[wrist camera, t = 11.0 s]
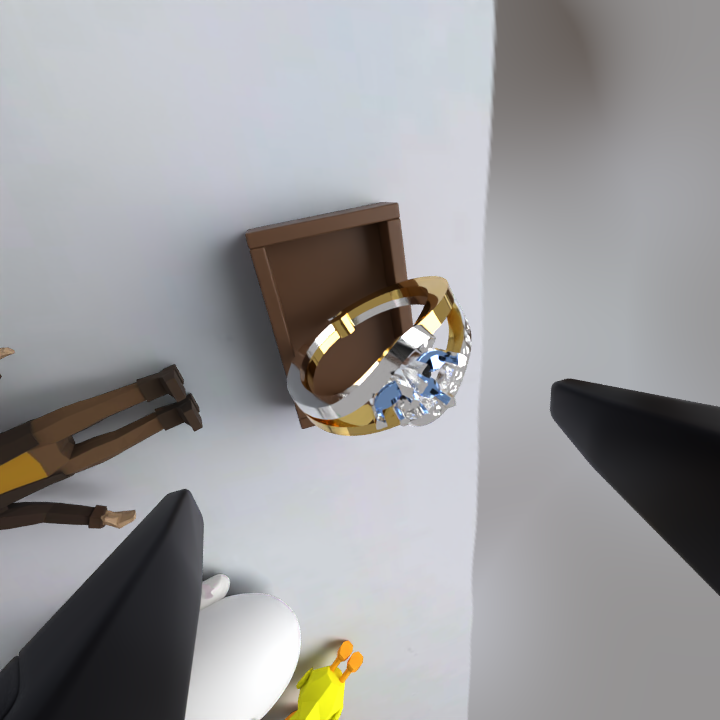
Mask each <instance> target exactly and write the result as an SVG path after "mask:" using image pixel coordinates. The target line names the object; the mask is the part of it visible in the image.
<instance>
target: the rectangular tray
mask: <svg viewBox="0 0 720 720" xmlns="http://www.w3.org/2000/svg"><path fill="white" fill-rule="evenodd" d="M399 217H400V214H399V206H398V203H390V202H381V203H376V204H371V205H366V206H361V207H356V208H351V209H346V210H341V211H336V212H331V213H326V214H322V215H317V216H312V217H307V218H302V219H297V220H292V221H287V222H282V223H277V224H272V225H267V226H262V227H257V228H253V229H248V230H247V232H246V234H245V237H246V241H247V244H248V247H249V249H250V254H251V258H252V261H253V265H254V268H255V271H256V275H257V278H258V282H259V285H260V288H261V292H262V295H263V299H264V302H265V305H266V309H267V312H268V316H269V319H270V322H271V326H272V329H273V333H274V336H275V339H276V343H277V346H278V350H279V353H280V356H281V360H282V363H283V367H284V370H285V373H286V377H287V376H288V372H289V369H290V366H291V363H292V361H293V359H294V357H295V356H296V354H297V352H298V351H299V349H300V348H301V347H302V345H303V344H304V343H305V341H306V340H307V339H308V338H309V337H310V336H311V335H312V334H313V333H314V332H315V331H316V330H317V329H318V328H319V327H320V326H321V325H323V324H324V323H325V322H326V321H327V318H328V317H329V316H330V315H331V314H332V313H334V312H335V311H337V310H339V309H342V310H343V309H345V308H346V307H348V306H350V305H351V304H353V303H355V302H357V301H358V300H360V299H362V298H364V297H366V296H368V295H370V294H372V293H374V292H376V291H378V290H381V289H383V288H385V287H388V286H391V285H393V284H396V283H399V282H403V281H406V280H407V272H406V264H405V255H404V247H403V239H402V230H401V222H400V219H399ZM355 327H356V329H355V330H354V331H353V332H352V333H351V334H349V335H348V336H346V337H344V338H339V339H338V340H336V341H335V342H334V343H333V344H332V345H331V346H330V347H329V348H328V350H327V351H326V352H325V353H324V355H323V356H322V358H321V359H320V361H319V363H318V365H317V367H316V370H315V373H314V378H313V388H314V393H315V394H317V395H322V396H330V395H335V394H338V393H341V392H343V391H345V390H346V389H348V388H349V387H351V386H352V385H353V384H355V383H356V382H357V381H358V380H359V379H360V378H361V377H362V376H363V375H364V374H365V373H366V372H367V371H368V370H369V369H370V368H371V367H372V366H373V365H374V364H375V362H376V361H377V360H378V359H379V358H380V357H381V355H382V354H383V353H384V352H385V351H386V350H387V348H388V347H389V346H390V345H391V344H392V343H393V342H394V341H395V340H396V339H397V338H398V337H399V336H401V335H403V334H405V333H406V332H407V331H408V330H410V329H411V328H412V327H413V321H412V313H411V305H405V306H400V307H396V308H392V309H389V310H386V311H383V312H381V313H379V314H376V315H374V316H372V317H370V318H368V319H366V320H365V321H363V322H361V323H359V324H358V325H356V326H355ZM399 368H400V367H399ZM399 368H398V369H399ZM417 395H418V394H417ZM418 396H419V397H420V395H418ZM293 401H294V400H293ZM294 404H295V408H296V411H297V414H298V418H299V421H300V425H301V428H302V429H305V428H309V427H312V426H316V425H315V424H313V423H312V422H311V421H310V420H309V418H308V417H307V416H306V415H305V413H304V412H303V411H302V410H301V409H300V408H299V407H298V405H297V404H296V403H295V401H294ZM367 404H369V401H368V402H367V403H365V404H364V405H367Z"/></svg>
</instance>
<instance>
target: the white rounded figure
mask: <svg viewBox="0 0 720 720" xmlns="http://www.w3.org/2000/svg"><path fill="white" fill-rule="evenodd" d="M229 586H230V580H229V578H228V576H226V575H223V574H217V575H215V576H213V577H211V578H209V579H207V580H205V581H203V582H202V596H201V605H200V612H199V619H198V627H197V634H196V641H195V649H194V656H193V663H192V671H191V678H190V685H189V692H188V700H187V707H186V714H185V720H260V719H261V718H262V717H263V716H264V715H265V714H266V713H267V712H268V711H269V710H270V709H271V708H272V706H273V705H274V704H275V703H276V702H277V700H278V699H279V698H280V696H281V695H282V693H283V692H284V690H285V689H286V687H287V685H288V684H289V682H290V680H291V678H292V676H293V673H294V671H295V668H296V666H297V662H298V659H299V654H300V648H301V632H300V626H299V622H298V620H297V617H296V615H295V614H294V612H293V611H292V609H291V608H290V607H289V606H288V605H287V604H286V603H285V602H283V601H282V600H281V599H279V598H277V597H275V596H272V595H268V594H263V593H244V594H238V595H233V596H229V597H225V596H226V594H227V592H228V590H229Z"/></svg>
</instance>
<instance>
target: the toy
mask: <svg viewBox="0 0 720 720" xmlns="http://www.w3.org/2000/svg"><path fill="white" fill-rule="evenodd" d="M14 353H15V352H14V350H13V349H10V348H0V359H2V358H4V357H6V356H8V355H11V354H14ZM1 377H2V376H1V375H0V378H1ZM182 384H184V379H183V378H182V376H181V374H180V372H179V370H178V368H177V367H176V365H175V364H174V365H172V366H169V367H167V368H165V369H163V370H162V371H161V372H159V373H157V374H153V375H150V376H147V377H144V378H141V379H137V382H136V383H133V384H130V385H128V386H125V387H122V388H119V389H116V390H113V391H110V392H107V393H104V394H102V395H99V396H96V397H93V398H90V399H86V400H83V401H79V402H76V403H74V404H71V405H68V406H65V407H62V408H60V409H57V410H55V411H53V412H51V413H48V414H46V415H44V416H42V417H39V418H37V419H34V420H30V421H28V422H26V423H24V424H21V425H19V426H17V427H15V428H13V429H10V430H8V431H6V432H3V433H0V530H4V529H11V528H17V527H22V526H28V525H33V524H38V523H43V522H44V523H56V524H73V525H88V527H89V528H103V527H105V525H109V526H113V527H116V528H119V529H120V528H122V527H123V526H125V525H127V524H129V523H130V522H132V521H134V520H135V519H136V512H135V510H132V511H121V512H112V511H108V510H107V506H101V505H96V507H89V506H82V505H73V504H65V503H53V502H20V503H13V502H16V501H18V500H20V499H22V498H24V497H26V496H28V495H30V494H32V493H34V492H36V491H38V490H40V489H43V488H45V487H47V486H49V485H51V484H53V483H56V482H58V481H61V480H64V479H66V478H68V477H70V476H72V475H74V474H75V473H77V472H80V471H82V470H85V469H88V468H90V467H93V466H95V465H98V464H100V463H103V462H105V461H107V460H109V459H111V458H113V457H114V456H116V455H118V454H120V453H122V452H123V451H125V450H127V449H128V448H130V447H132V446H134V445H136V444H137V443H139V442H141V441H143V440H145V439H146V438H148V437H150V436H152V435H154V434H155V433H157V432H159V431H161V430H162V429H165V431H166V430H168V429H170V428H173V427H175V426H177V425H179V424H182V423H184V422H185V423H187V424H188V425H190V426H191V427H192V429H193V430H194V432H195V431H197V430H199V429H201V428H202V427H203V426H202V420H201V417H200V415H199V413H198V412H200V411H199V406H198V405H197V403H196V401H195V399H194V397H193V396H192V394H191V393H190V394H188V395H186V392H185V388H184V386H183V385H182ZM166 394H169V395H171V396H172V397H174V398H175V399H176V401H177V402H176V403H173V404H170V405H166V406H163V407H160V408H157V409H155V412H154V413H152V414H149V415H147V416H145V417H143V418H141V419H139V420H137V421H135V422H133V423H131V424H129V425H126V426H124V427H122V428H120V429H118V430H116V431H113V432H109V433H105V434H102V435H99V436H96V437H93V438H91V439H88V440H86V441H83V442H81V443H77V444H75V442H74V439H73V437H72V435H73V434H75V433H78V432H80V431H82V430H84V429H86V428H88V427H90V426H92V425H94V424H96V423H98V422H100V421H101V420H103V419H105V418H106V417H109V416H111V415H113V414H116V413H118V412H120V411H123V410H125V409H127V408H130V407H132V406H134V405H137V404H139V403H141V402H144V401H146V400H147V402H150V401H152V400H154V399H156V398H159V397H161V396H164V395H166Z"/></svg>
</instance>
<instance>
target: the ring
mask: <svg viewBox="0 0 720 720" xmlns="http://www.w3.org/2000/svg"><path fill="white" fill-rule="evenodd" d="M414 304H420V305H425V306H424V308H423V310H422V312H421V314H420V316H419V317H418V319H417V321H416V323H415V324H414V326H413V327H412V328H411V329H410V330H408V331H407V332H406V333H405V334H403V335H401V336H399V337H398V338H397V339H396V340H395V341H394V342H393V343H392V344H391V345H390V346H389V347H388V348H387V350H386V351H385V352H384V353H383V354H382V355H381V357H380V358H379V359H378V360H377V361H376V362H375V364H374V365H373V366H372V367H371V368H370V369H369V370H368V371H367V372H366V373H365V374H364V375H363V376H362V377H361V378H360V379H359V380H358V381H357V382H356V383H355V384H353V385H352V386H351V387H349V388H348V389H346V390H345V391H343V392H341V393H338V394H335V395H330V396H322V395H317V394H315V393H314V388H313V378H314V373H315V370H316V367H317V365H318V363H319V361H320V359H321V358H322V356H323V355H324V353H325V352H326V351H327V350H328V348H329V347H330V346H331V345H332V344H333V343H334V342H335V341H336V340H338V339H339V338H344V337H346V336H348V335H349V334H351V333H352V332H353V331H354V330H355V329H356V327H355V326H356V325H358V324H359V323H361V322H363V321H365V320H366V319H368V318H370V317H372V316H374V315H376V314H379V313H381V312H383V311H386V310H389V309H392V308H396V307H400V306H405V305H414ZM445 319H447V320H448V324H449V339H448V345H447V349H446V350H442V349H437V348H435V350H434V349H431V348H432V346H433V344H434V342H435V336H434V335H433V333H434V332H435V331H436V330H437V328H438V327H439V326H440V325H441V324H442V323H443V321H444V320H445ZM471 342H472V339H471V331H470V327H469V324H468V322H467V319H466V317H465V315H464V312H463V310H462V308H461V306H460V304H459V302H458V301H457V300H456V299H455V298H454V295H453V293H452V290H451V288H450V286H449V284H448V282H447V280H446V279H444V278H442V277H437V276H428V277H420V278H414V279H410V280H406V281H403V282H399V283H396V284H393V285H391V286H388V287H385V288H383V289H381V290H378V291H376V292H374V293H372V294H370V295H368V296H366V297H364V298H362V299H360V300H358V301H357V302H355V303H353V304H351V305H350V306H348V307H346V308H345V309H343V310H342V309H339V310H337V311H335V312H334V313H332V314H331V315H330V316H329V317H328V318H327V321H326V322H325V323H324V324H323V325H321V326H320V327H319V328H318V329H317V330H316V331H315V332H314V333H313V334H312V335H311V336H310V337H309V338H308V339H307V340H306V341H305V343H304V344H303V345H302V347H301V348H300V349H299V351H298V352H297V354H296V356H295V357H294V359H293V361H292V363H291V366H290V369H289V372H288V376H287V389H288V392H289V394H290V396H291V397H292V398H293V400H294V401H295V403H296V404H297V405H298V407H299V408H300V409H301V410H302V411H303V412H304V413H305V415H306V416H307V417H308V418H309V420H310V421H311V422H312V423H313V424H315V425H316V426H317V427H319V428H321V429H322V430H324V431H327V432H330V433H333V434H338V435H346V436H357V435H366V434H372V433H376V432H380V431H384V430H387V429H390V428H393V427H395V426H398V425H401V426H406V425H409V426H414V427H418V426H424V425H427V424H429V423H431V422H433V421H435V420H436V419H437V418H439V417H440V416H441V415H442V414H443V413H444V412H445V411H446V410H447V408H450V407H453V406H455V405H456V402H455V398H454V397H455V395H456V393H457V391H458V389H459V387H460V384H461V382H462V379H463V376H464V373H465V370H466V367H467V364H468V360H469V356H470V352H471ZM399 367H400V368H399ZM440 367H441V368H440ZM398 368H399V369H398ZM439 368H440V371H439V373H438V375H437V378H436V380H434V379H433V378H431V372H433V371H436V370H437V369H439ZM417 394H418V395H420V396H423V397H425V398H424V399H423V400H422V401H421V399H420V398H419V396H418V395H417ZM368 401H369V404H367V405H364V404H365V403H367V402H368Z"/></svg>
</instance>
